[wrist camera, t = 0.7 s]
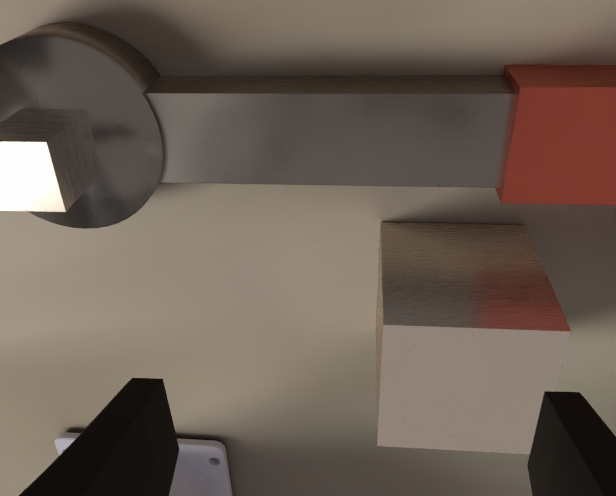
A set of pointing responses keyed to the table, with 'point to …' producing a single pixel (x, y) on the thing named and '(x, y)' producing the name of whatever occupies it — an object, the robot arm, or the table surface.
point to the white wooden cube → (464, 337)
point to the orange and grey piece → (286, 129)
